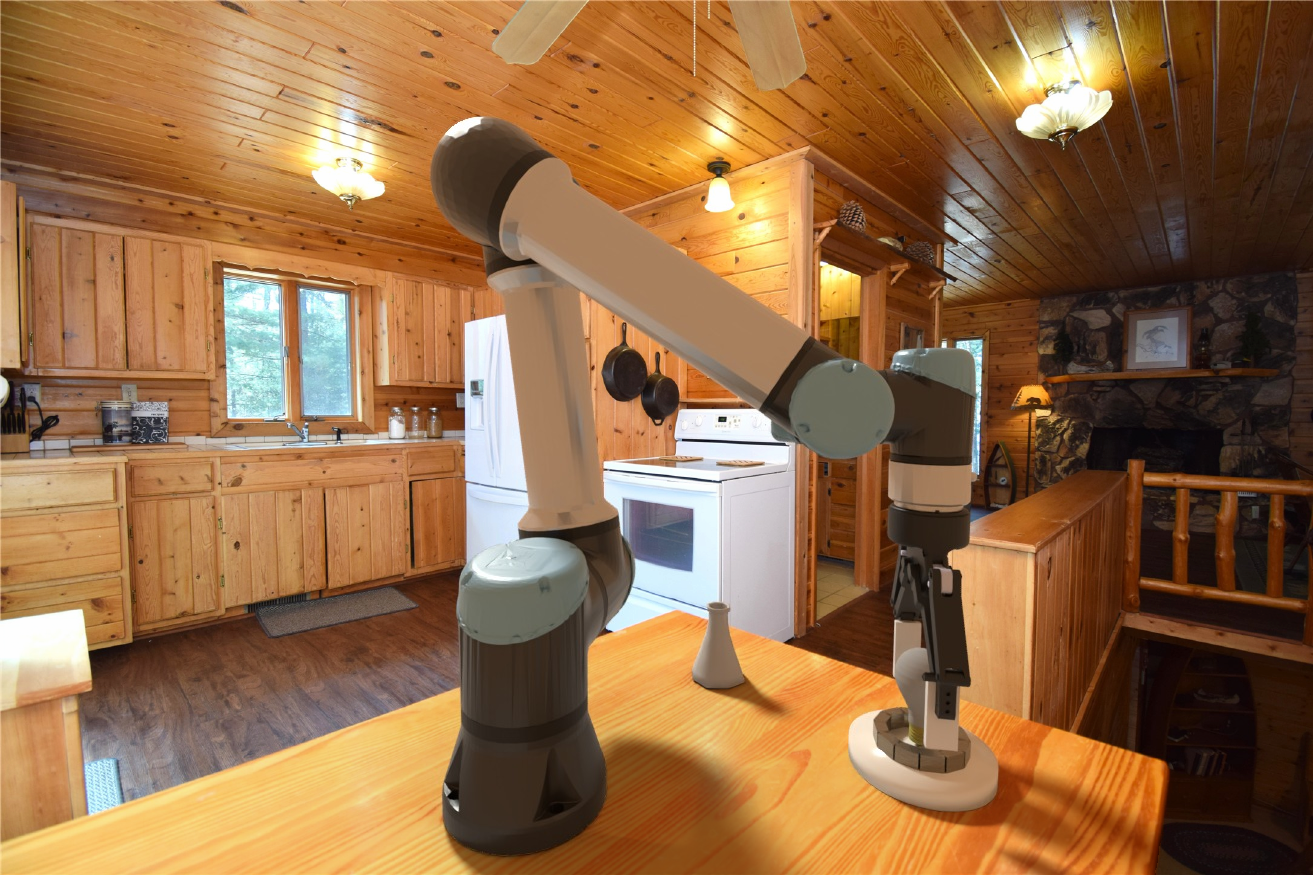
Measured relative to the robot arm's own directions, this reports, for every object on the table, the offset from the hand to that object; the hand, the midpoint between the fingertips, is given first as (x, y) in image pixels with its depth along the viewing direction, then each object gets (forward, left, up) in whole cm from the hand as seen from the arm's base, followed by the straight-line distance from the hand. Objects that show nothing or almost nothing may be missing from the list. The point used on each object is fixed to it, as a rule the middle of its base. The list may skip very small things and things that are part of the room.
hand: (921, 708), depth 60 cm
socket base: (0, 0, -6) cm, 6 cm away
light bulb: (0, 0, -4) cm, 4 cm away
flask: (-22, +15, -6) cm, 27 cm away
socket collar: (0, 0, -4) cm, 4 cm away
